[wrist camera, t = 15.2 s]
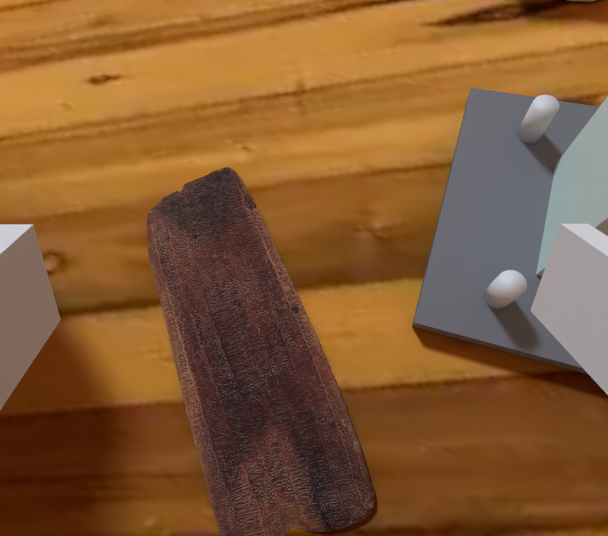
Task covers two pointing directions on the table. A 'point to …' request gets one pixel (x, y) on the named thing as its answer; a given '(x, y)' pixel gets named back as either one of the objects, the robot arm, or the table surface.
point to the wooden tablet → (252, 369)
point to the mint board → (579, 184)
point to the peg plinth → (498, 225)
